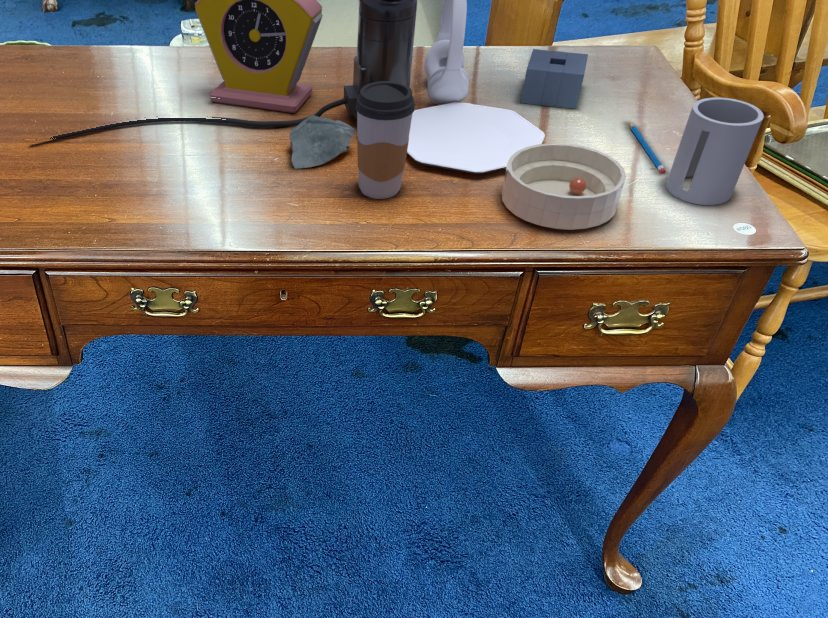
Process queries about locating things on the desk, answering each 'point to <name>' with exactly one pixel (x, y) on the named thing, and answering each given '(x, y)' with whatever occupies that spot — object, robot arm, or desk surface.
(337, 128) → the stone
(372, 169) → the coffee cup
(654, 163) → the pencil
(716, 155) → the cup
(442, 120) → the plate
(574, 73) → the stand
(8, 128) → the desk surface
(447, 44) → the headphones
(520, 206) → the bowl
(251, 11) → the yellow mantel clock
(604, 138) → the desk surface
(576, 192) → the bead terracotta
